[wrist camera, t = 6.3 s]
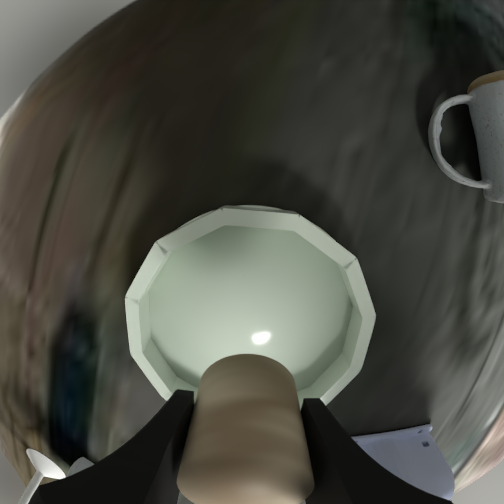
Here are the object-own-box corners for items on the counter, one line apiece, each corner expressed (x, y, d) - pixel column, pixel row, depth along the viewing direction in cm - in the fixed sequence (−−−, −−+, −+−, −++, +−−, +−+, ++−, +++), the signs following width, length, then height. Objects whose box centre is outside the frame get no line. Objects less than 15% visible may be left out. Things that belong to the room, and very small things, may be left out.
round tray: (376, 218, 16) (395, 224, 14) (334, 404, 20) (341, 427, 17) (139, 197, 16) (121, 200, 14) (149, 391, 19) (139, 413, 17)
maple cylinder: (305, 358, 11) (332, 457, 6) (285, 426, 12) (296, 516, 7) (201, 347, 11) (173, 446, 6) (197, 418, 12) (179, 507, 7)
